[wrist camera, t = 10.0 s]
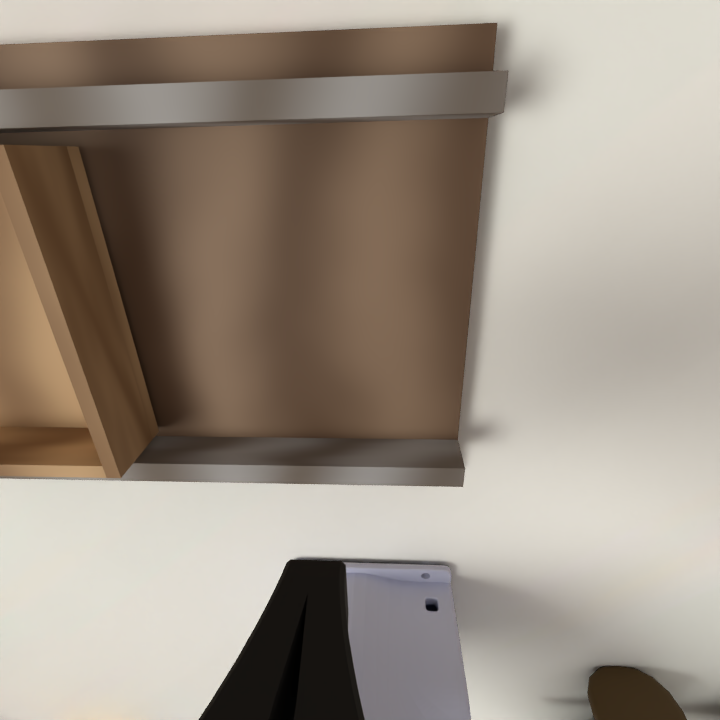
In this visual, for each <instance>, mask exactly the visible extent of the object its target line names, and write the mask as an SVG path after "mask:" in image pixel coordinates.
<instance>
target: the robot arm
mask: <svg viewBox="0 0 720 720" xmlns="http://www.w3.org/2000/svg"><path fill="white" fill-rule="evenodd" d="M451 577H452V575H451V569H450V568H449V567H447V566H444V565H418V564H383V563H348V562H342V561H322V560H290V561H288V562H287V563H286V566H285V568H284V570H283V573H282V575H281V577H280V579H279V581H278V584H277V586H276V588H275V590H274V592H273V594H272V596H271V598H270V600H269V602H268V604H267V606H266V608H265V610H264V612H263V614H262V615H261V617H260V619H259V621H258V623H257V625H256V626H255V628H254V630H253V632H252V634H251V635H250V637H249V639H248V641H247V642H246V644H245V646H244V648H243V649H242V651H241V653H240V655H239V656H238V658H237V660H236V662H235V663H234V665H233V666H232V668H231V670H230V671H229V673H228V674H227V676H226V678H225V679H224V681H223V682H222V684H221V686H220V687H219V689H218V690H217V692H216V694H215V695H214V697H213V699H212V700H211V702H210V703H209V705H208V706H207V708H206V709H205V711H204V712H203V714H202V715H201V717H200V718H199V720H471V716H470V706H469V698H468V691H467V684H466V678H465V671H464V665H463V658H462V652H461V645H460V639H459V633H458V626H457V620H456V613H455V607H454V600H453V594H452V587H451Z"/></svg>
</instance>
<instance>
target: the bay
mask: <svg viewBox="0 0 720 720" xmlns="http://www.w3.org/2000/svg"><path fill="white" fill-rule="evenodd" d="M496 31H497V23H484V24H461V25H439V26H416V27H393V28H370V29H348V30H325V31H302V32H279V33H257V34H234V35H211V36H188V37H165V38H143V39H120V40H97V41H74V42H52V43H29V44H6V45H0V145H36V146H76V147H79V151H80V154H81V158H82V161H83V165H84V168H85V172H86V175H87V179H88V183H89V186H90V190H91V193H92V197H93V200H94V204H95V207H96V211H97V214H98V218H99V221H100V225H101V228H102V232H103V235H104V239H105V242H106V246H107V250H108V253H109V257H110V260H111V264H112V267H113V271H114V274H115V278H116V281H117V285H118V288H119V292H120V295H121V299H122V302H123V306H124V309H125V313H126V317H127V320H128V324H129V327H130V331H131V334H132V338H133V341H134V345H135V348H136V352H137V355H138V359H139V362H140V366H141V369H142V373H143V376H144V380H145V384H146V387H147V391H148V394H149V398H150V401H151V405H152V408H153V412H154V415H155V419H156V422H157V426H158V429H159V432H158V433H157V435H156V436H155V437H154V438H153V439H152V441H151V442H150V443H149V444H148V446H147V447H146V448H145V449H144V451H143V452H142V453H141V454H140V455H139V457H138V458H137V459H136V460H135V462H134V463H133V464H132V465H131V467H130V468H129V469H128V470H127V471H126V473H125V474H124V475H123V476H122V478H81V477H25V476H0V478H12V479H66V480H121V481H176V482H231V483H286V484H341V485H395V486H450V487H463V482H464V473H465V467H464V463H463V459H462V455H461V451H460V447H459V443H458V430H459V419H460V409H461V398H462V388H463V377H464V367H465V356H466V346H467V335H468V325H469V314H470V304H471V293H472V283H473V272H474V262H475V251H476V241H477V230H478V220H479V210H480V199H481V189H482V178H483V168H484V157H485V147H486V136H487V126H488V118H489V117H492V116H495V115H498V114H501V113H503V112H504V105H505V96H506V87H507V78H508V71H493V63H494V52H495V42H496Z"/></svg>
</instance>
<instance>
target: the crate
mask: <svg viewBox="0 0 720 720" xmlns="http://www.w3.org/2000/svg"><path fill="white" fill-rule="evenodd" d="M158 432H159V429H158V426H157V422H156V419H155V415H154V412H153V408H152V405H151V401H150V398H149V394H148V391H147V387H146V384H145V380H144V376H143V373H142V369H141V366H140V362H139V359H138V355H137V352H136V348H135V345H134V341H133V338H132V334H131V331H130V327H129V324H128V320H127V317H126V313H125V309H124V306H123V302H122V299H121V295H120V292H119V288H118V285H117V281H116V278H115V274H114V271H113V267H112V264H111V260H110V257H109V253H108V250H107V246H106V242H105V239H104V235H103V232H102V228H101V225H100V221H99V218H98V214H97V211H96V207H95V204H94V200H93V197H92V193H91V190H90V186H89V183H88V179H87V175H86V172H85V168H84V165H83V161H82V158H81V154H80V151H79V147H76V146H36V145H0V476H25V477H81V478H122V476H123V475H124V474H125V473H126V471H127V470H128V469H129V468H130V467H131V465H132V464H133V463H134V462H135V460H136V459H137V458H138V457H139V455H140V454H141V453H142V452H143V451H144V449H145V448H146V447H147V446H148V444H149V443H150V442H151V441H152V439H153V438H154V437H155V436H156V435H157V433H158Z"/></svg>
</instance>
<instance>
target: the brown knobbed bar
mask: <svg viewBox="0 0 720 720" xmlns="http://www.w3.org/2000/svg"><path fill="white" fill-rule="evenodd" d="M588 698H589V702H590V705H591V709H592V713H593V717H594V719H595V720H687V719H686V717H685V714H684V712H683V711H682V709H681V708H680V707H679V705H678V704H677V702H676V701H675V700H674V698H673V697H672V696H671V694H670V693H669V692H668V691H667V690H666V689H665V688H664V687H663V686H662V685H661V684H659V683H658V682H657V681H656V680H655V679H654V678H653V677H651V676H649V675H647V674H645V673H643V672H641V671H639V670H637V669H635V668H631V667H621V666H605V667H601V668H599V669H598V670H597V671H596V672H595V673H594V674H593V675H592V676H590V677H589V685H588Z"/></svg>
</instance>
